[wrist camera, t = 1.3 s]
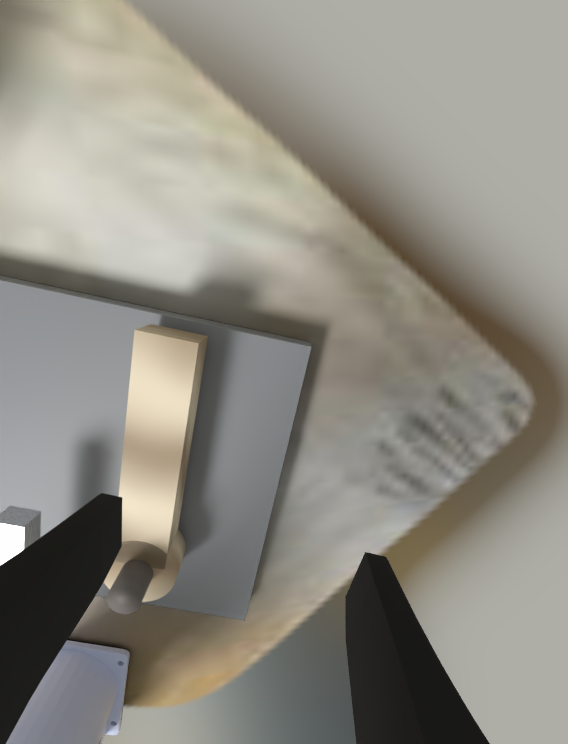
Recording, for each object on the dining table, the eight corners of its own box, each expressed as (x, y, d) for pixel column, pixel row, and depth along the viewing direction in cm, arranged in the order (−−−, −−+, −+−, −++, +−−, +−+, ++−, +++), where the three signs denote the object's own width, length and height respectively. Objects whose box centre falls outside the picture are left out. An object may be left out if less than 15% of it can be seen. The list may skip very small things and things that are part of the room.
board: (247, 601, 25) (244, 620, 24) (-29, 553, 24) (-49, 571, 23) (309, 341, 20) (311, 347, 18) (-42, 266, 19) (-69, 265, 17)
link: (181, 575, 22) (160, 638, 18) (115, 564, 22) (78, 625, 18) (221, 338, 18) (204, 354, 14) (139, 320, 18) (98, 332, 14)
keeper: (72, 586, 23) (26, 652, 19) (42, 581, 23) (-11, 646, 19) (78, 478, 21) (28, 528, 17) (45, 472, 20) (-14, 520, 16)
